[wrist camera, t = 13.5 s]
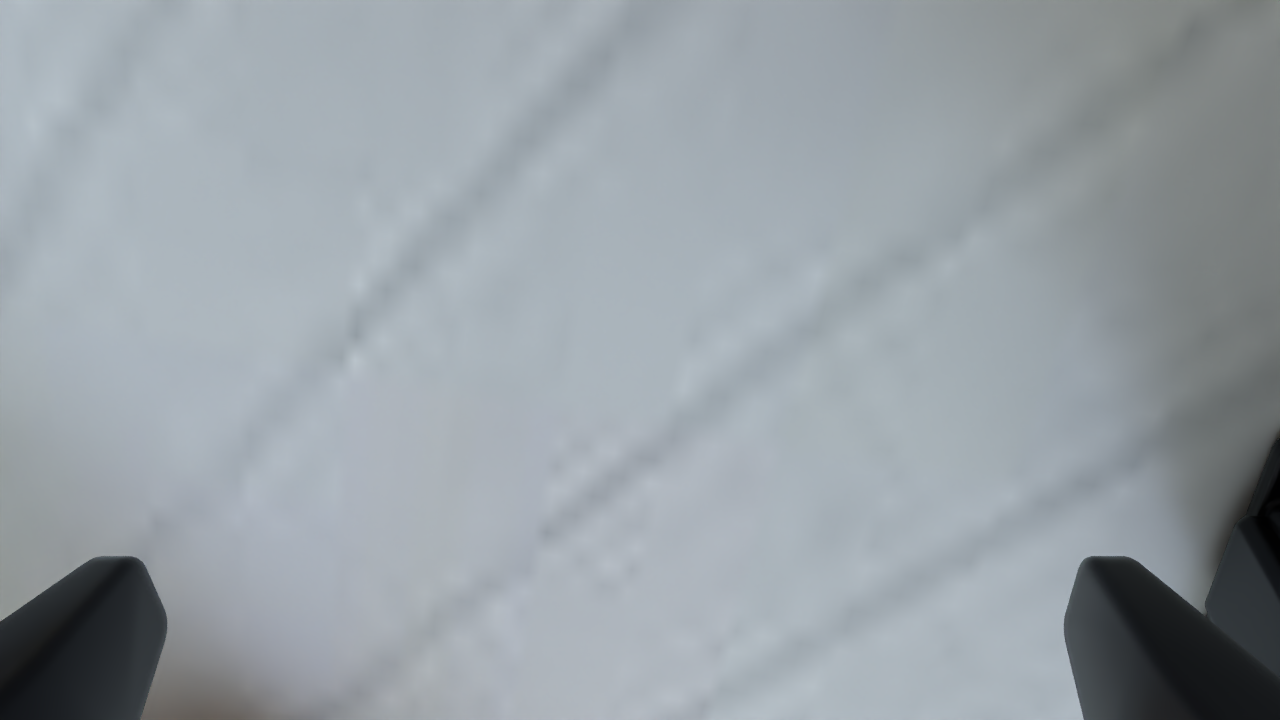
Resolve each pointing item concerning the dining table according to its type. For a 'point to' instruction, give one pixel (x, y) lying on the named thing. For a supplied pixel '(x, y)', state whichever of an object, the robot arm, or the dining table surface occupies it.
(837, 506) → the dining table surface
